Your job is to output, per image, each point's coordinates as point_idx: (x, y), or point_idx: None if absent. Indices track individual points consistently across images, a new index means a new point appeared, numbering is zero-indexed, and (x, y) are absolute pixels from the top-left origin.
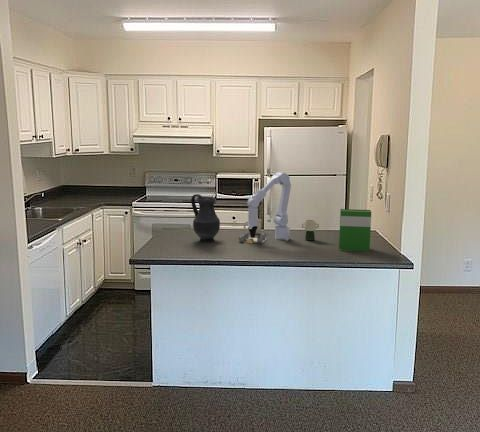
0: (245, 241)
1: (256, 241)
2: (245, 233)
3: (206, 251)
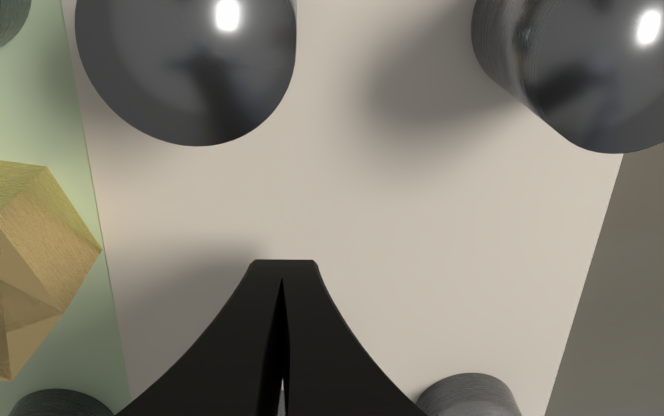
0: (90, 91)
1: None
2: (547, 31)
3: None
